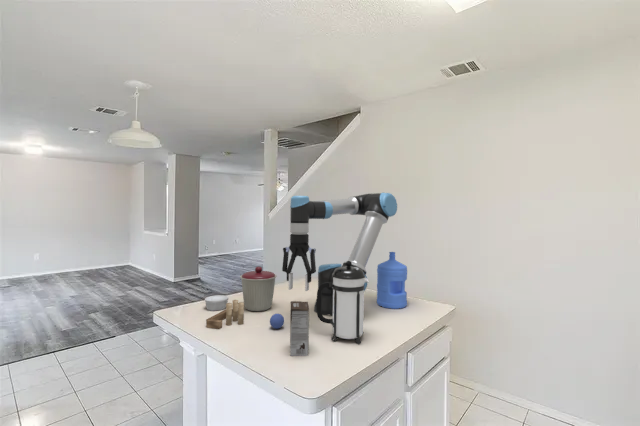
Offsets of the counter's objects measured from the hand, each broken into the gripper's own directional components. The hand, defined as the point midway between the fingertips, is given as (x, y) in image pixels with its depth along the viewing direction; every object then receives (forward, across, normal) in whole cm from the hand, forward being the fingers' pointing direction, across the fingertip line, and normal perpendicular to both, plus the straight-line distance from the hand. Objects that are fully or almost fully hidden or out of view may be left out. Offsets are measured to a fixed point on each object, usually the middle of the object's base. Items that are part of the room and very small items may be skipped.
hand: (298, 289), depth 130 cm
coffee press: (+17, -20, +1) cm, 26 cm away
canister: (+17, +30, -22) cm, 41 cm away
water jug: (+17, -34, -50) cm, 63 cm away
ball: (+14, +10, 0) cm, 17 cm away
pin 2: (+17, +31, -2) cm, 35 cm away
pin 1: (+17, +31, +2) cm, 35 cm away
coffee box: (+17, -6, +17) cm, 25 cm away
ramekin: (+17, +50, -16) cm, 55 cm away
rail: (+17, +35, 0) cm, 39 cm away
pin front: (+17, +26, 0) cm, 31 cm away
